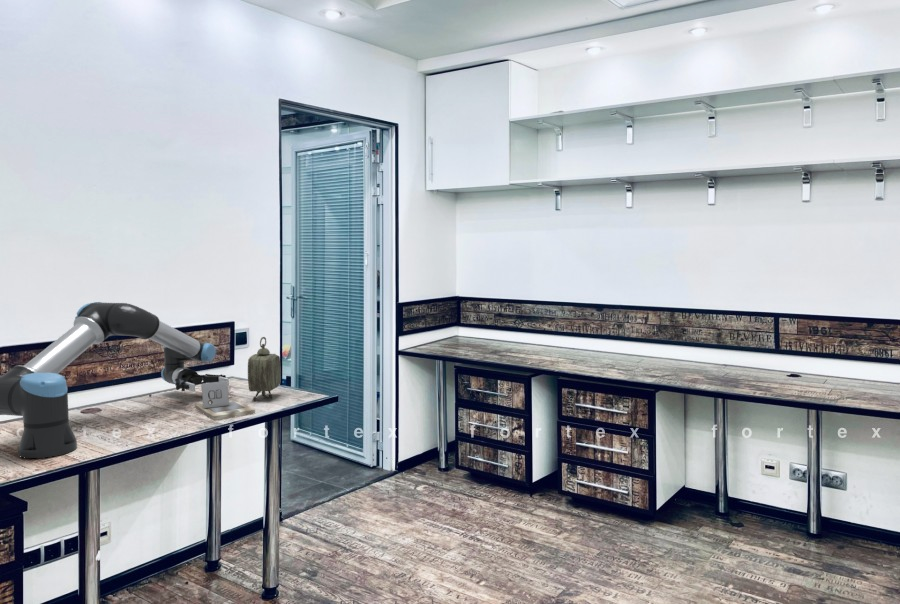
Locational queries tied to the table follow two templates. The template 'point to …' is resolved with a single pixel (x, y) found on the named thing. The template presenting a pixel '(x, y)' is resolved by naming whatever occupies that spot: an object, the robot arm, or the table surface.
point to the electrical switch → (215, 394)
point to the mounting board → (226, 410)
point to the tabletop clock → (263, 371)
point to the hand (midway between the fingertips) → (211, 385)
